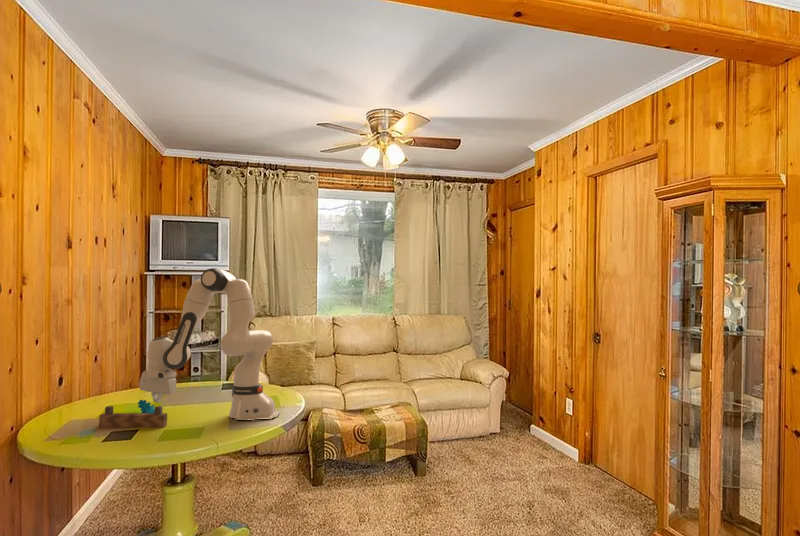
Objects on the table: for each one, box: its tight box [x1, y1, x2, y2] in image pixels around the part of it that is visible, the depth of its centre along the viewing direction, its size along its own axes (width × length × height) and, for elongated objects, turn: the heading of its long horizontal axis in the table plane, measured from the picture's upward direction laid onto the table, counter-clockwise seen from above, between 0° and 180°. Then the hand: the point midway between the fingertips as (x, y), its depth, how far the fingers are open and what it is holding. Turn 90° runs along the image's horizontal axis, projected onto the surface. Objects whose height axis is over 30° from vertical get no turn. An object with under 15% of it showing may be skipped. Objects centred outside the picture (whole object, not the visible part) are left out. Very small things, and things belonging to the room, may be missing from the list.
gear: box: [137, 399, 156, 413], centre depth 208 cm, size 11×6×10 cm
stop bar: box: [98, 405, 168, 428], centre depth 194 cm, size 26×3×8 cm, turn 94°
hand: (156, 401), depth 216 cm, fingers closed
